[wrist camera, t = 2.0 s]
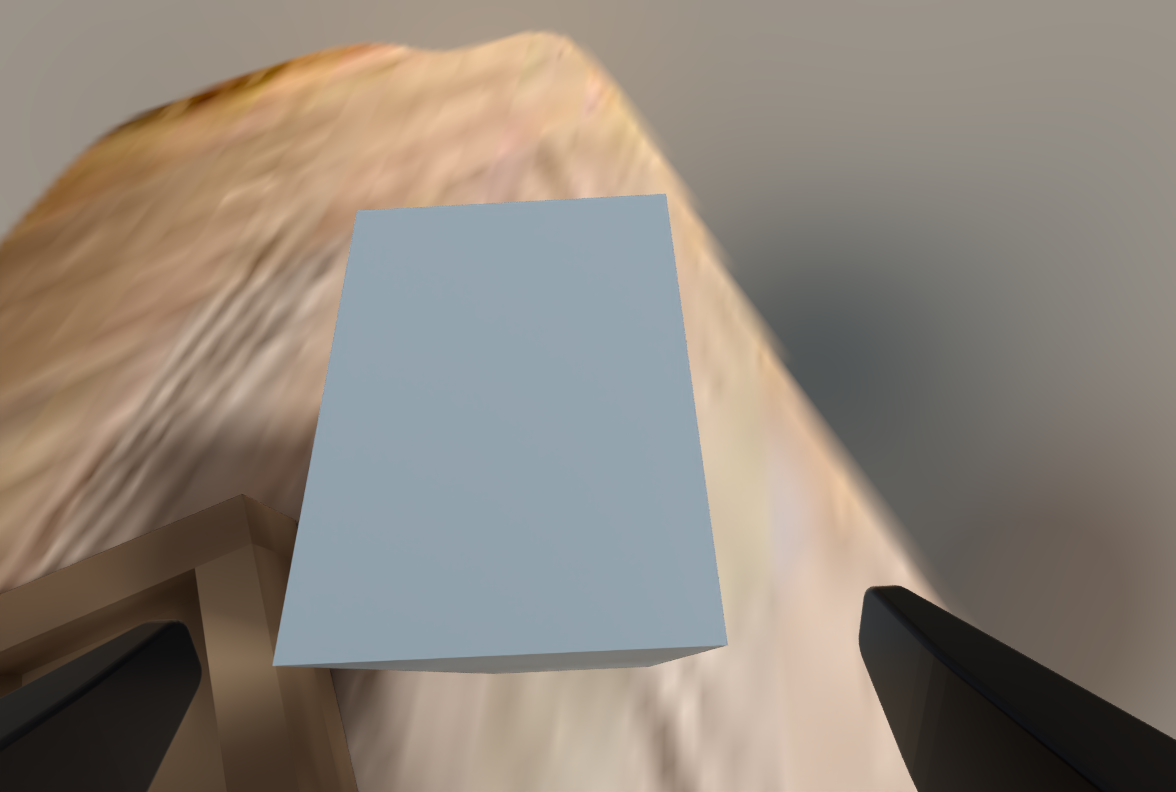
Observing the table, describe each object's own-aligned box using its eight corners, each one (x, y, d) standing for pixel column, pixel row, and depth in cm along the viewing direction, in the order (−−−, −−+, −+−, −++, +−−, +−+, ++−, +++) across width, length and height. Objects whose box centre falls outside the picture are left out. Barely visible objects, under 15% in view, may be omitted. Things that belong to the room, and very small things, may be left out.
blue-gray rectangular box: (648, 666, 16) (727, 645, 6) (492, 673, 16) (272, 666, 6) (633, 467, 19) (666, 193, 8) (498, 474, 19) (356, 210, 8)
